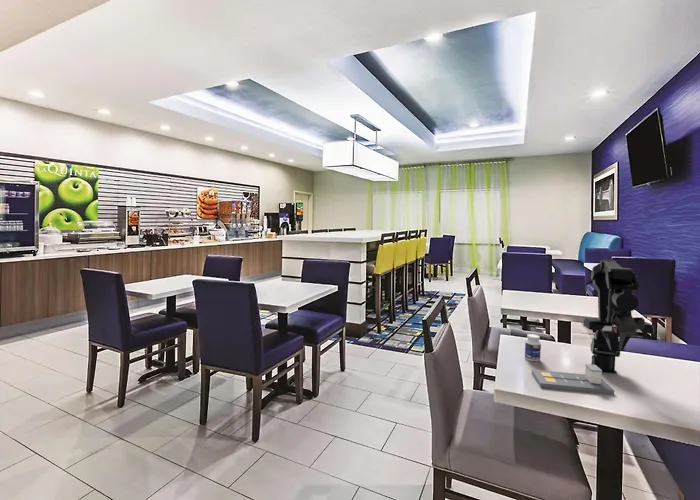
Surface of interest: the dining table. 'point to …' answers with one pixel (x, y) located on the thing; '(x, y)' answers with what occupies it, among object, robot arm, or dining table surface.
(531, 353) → the pill bottle
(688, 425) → the dining table surface
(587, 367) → the fader
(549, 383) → the mixing board
